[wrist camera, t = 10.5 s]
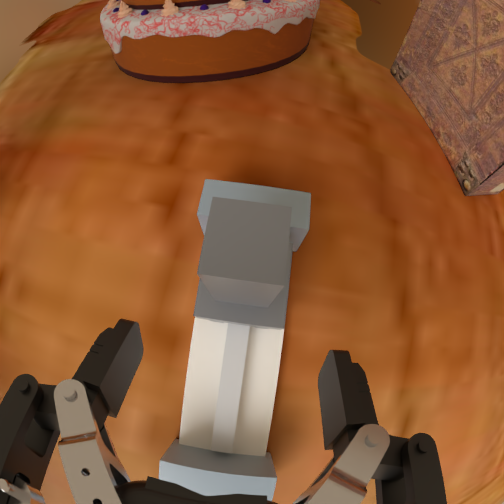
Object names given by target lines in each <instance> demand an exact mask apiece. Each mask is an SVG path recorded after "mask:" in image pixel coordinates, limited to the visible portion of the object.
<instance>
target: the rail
mask: <svg viewBox="0 0 504 504" xmlns="http://www.w3.org/2000/svg"><path fill="white" fill-rule="evenodd" d="M213 197H220V198H229V199H237V200H245V201H252V202H260V203H267V204H274V205H281V206H288V207H292V212H291V224H290V236H289V242H291V243H293V250H292V251H297V250H298V248H299V246H300V245H301V243H302V241H303V239H304V238H305V236H306V234H307V232H308V231H309V225H310V205H311V193H307V192H301V191H295V190H288V189H282V188H275V187H268V186H260V185H253V184H245V183H237V182H228V181H219V180H209V179H205V183H204V187H203V191H202V195H201V199H200V203H199V208H198V212H197V216H198V219H199V222H200V225H201V228H202V231H203V234H204V236H205V231H206V226H207V221H208V216H209V212H210V207H211V202H212V198H213ZM283 335H284V329H281V330H278V329H262V328H255V327H253V326H246V325H238V324H232V323H225V322H224V323H219V322H213V321H210V320H206V319H200V318H197V317H195V321H194V328H193V334H192V341H191V347H190V354H189V361H188V369H187V376H186V384H185V392H184V400H183V409H182V417H181V427H180V436H179V439H175V440H174V441H173V443H172V444H171V446H170V447H169V448H168V450H167V451H166V452H165V454H164V455H163V457H162V458H161V459H160V465H159V479H160V480H164V481H168V482H172V483H176V484H178V485H180V486H183V487H185V488H187V489H189V490H192V491H194V492H197V493H199V494H201V495H205V496H215V495H228V494H249V495H266V496H267V500H269V501H272V499H273V494H274V490H275V485H276V481H277V476H276V472H275V468H274V465H273V461H272V457H271V454H270V452H266V449H267V444H268V438H269V432H270V426H271V420H272V413H273V407H274V400H275V394H276V387H277V380H278V373H279V366H280V358H281V351H282V343H283Z"/></svg>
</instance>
